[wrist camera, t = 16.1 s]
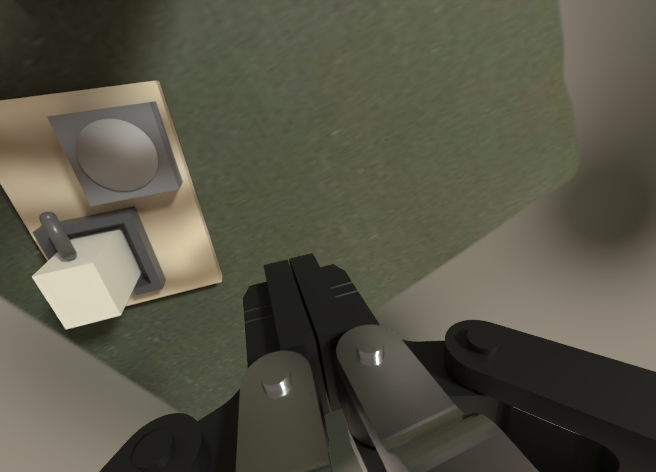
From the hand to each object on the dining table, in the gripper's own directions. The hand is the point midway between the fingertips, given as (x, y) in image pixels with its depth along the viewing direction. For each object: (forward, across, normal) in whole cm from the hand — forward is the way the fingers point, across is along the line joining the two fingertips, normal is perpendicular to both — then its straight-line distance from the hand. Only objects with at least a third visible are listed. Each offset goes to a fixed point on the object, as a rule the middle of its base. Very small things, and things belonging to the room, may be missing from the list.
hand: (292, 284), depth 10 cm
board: (+25, +13, +3) cm, 28 cm away
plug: (+23, +15, +5) cm, 28 cm away
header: (+24, +15, +7) cm, 29 cm away
